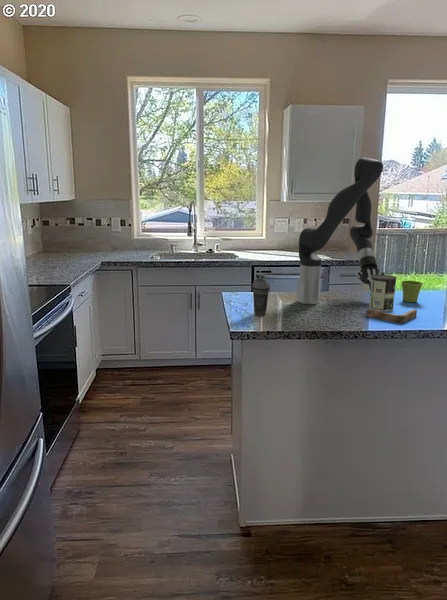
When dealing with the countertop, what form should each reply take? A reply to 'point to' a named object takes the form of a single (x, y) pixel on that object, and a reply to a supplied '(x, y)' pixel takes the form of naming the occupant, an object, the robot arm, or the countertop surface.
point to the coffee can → (382, 292)
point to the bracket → (392, 315)
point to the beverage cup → (260, 295)
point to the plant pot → (411, 290)
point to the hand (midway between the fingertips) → (373, 290)
